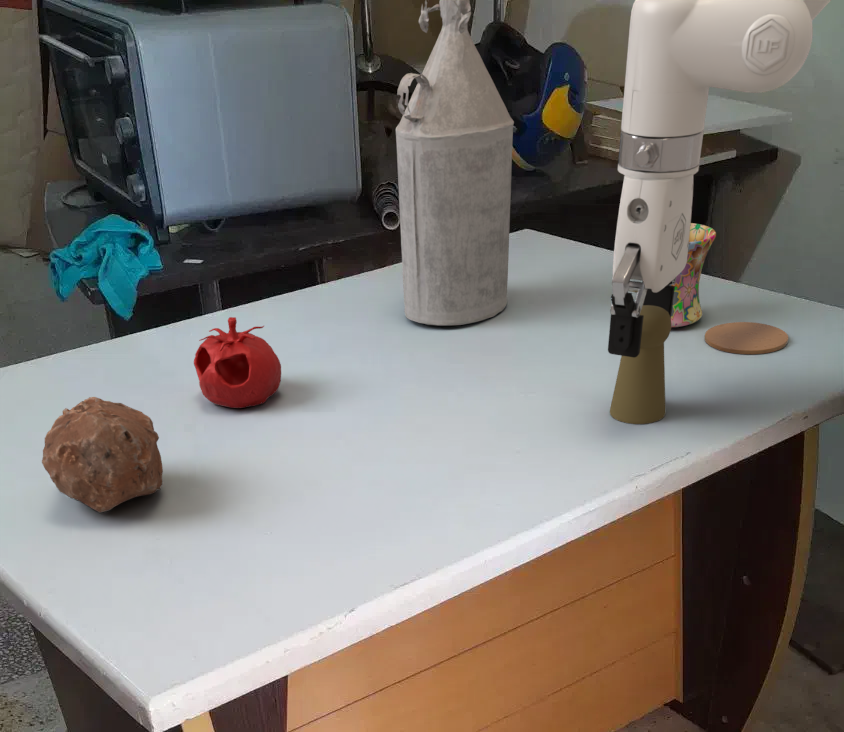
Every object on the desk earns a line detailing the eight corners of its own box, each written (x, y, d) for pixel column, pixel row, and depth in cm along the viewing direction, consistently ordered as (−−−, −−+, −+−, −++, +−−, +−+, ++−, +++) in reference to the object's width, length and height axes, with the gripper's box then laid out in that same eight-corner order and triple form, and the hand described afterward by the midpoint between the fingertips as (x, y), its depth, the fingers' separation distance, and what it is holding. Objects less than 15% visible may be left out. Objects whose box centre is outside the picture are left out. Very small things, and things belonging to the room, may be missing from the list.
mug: (644, 305, 137) (652, 219, 130) (712, 312, 134) (724, 225, 127) (615, 335, 129) (622, 245, 122) (687, 343, 126) (699, 252, 119)
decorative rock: (177, 517, 98) (154, 417, 92) (59, 538, 96) (26, 438, 89) (164, 461, 108) (142, 367, 101) (56, 480, 106) (27, 385, 99)
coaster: (796, 331, 127) (796, 327, 127) (776, 359, 121) (777, 354, 120) (717, 322, 131) (718, 318, 131) (694, 348, 125) (694, 344, 124)
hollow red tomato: (240, 376, 125) (226, 297, 119) (301, 391, 120) (291, 310, 114) (182, 404, 119) (165, 323, 113) (244, 421, 114) (230, 338, 108)
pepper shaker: (652, 428, 108) (664, 322, 101) (600, 417, 111) (607, 313, 103) (674, 407, 112) (686, 303, 105) (623, 397, 114) (631, 296, 107)
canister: (379, 321, 138) (351, -50, 112) (460, 286, 147) (451, -63, 121) (451, 339, 131) (439, -51, 105) (530, 301, 141) (537, -64, 114)
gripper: (669, 176, 88) (646, 373, 99) (725, 136, 99) (699, 317, 110) (587, 169, 90) (574, 362, 102) (651, 132, 102) (633, 308, 113)
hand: (639, 338), depth 106 cm, fingers open, 9 cm apart
